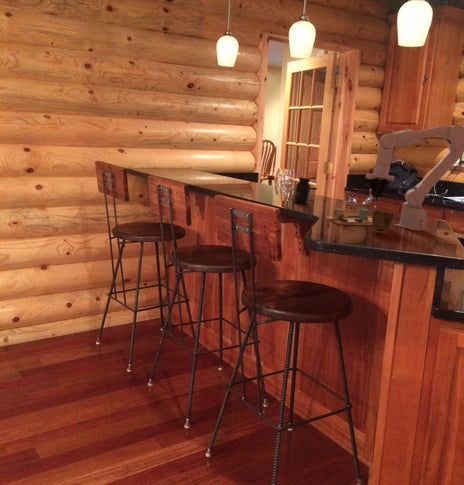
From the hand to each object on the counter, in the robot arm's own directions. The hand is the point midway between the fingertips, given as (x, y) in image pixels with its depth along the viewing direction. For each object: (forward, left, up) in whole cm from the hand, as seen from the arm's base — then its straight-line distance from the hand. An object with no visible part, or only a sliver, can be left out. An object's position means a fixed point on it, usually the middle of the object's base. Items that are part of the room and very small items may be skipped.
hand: (376, 197), depth 211 cm
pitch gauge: (0, +10, -10) cm, 14 cm away
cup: (-19, +17, -11) cm, 28 cm away
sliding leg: (-2, +6, -9) cm, 11 cm away
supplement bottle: (+42, +4, -11) cm, 43 cm away
